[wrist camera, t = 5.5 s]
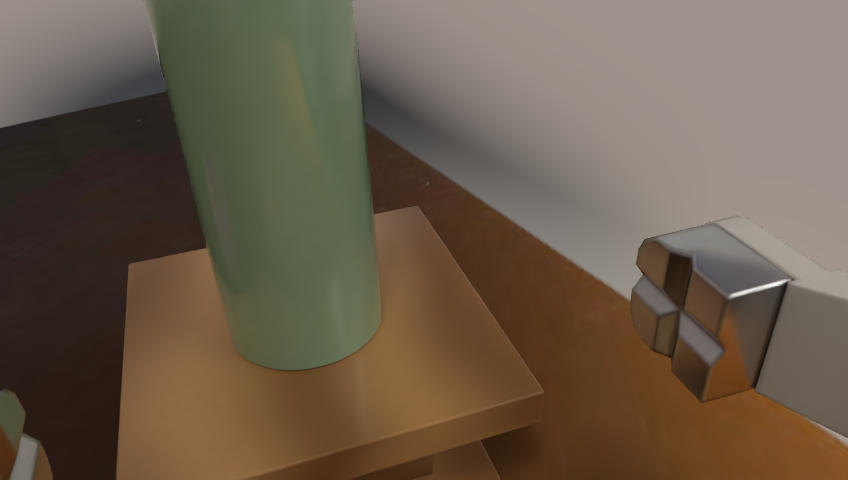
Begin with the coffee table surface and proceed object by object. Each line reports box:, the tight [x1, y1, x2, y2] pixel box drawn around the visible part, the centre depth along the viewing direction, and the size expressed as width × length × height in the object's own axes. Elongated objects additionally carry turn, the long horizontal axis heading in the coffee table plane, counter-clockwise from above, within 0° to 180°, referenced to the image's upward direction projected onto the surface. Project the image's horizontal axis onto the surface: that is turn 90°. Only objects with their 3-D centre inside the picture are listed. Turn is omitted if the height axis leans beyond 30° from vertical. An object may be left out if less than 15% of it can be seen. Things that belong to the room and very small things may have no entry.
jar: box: [144, 0, 383, 371], centre depth 18 cm, size 5×5×13 cm
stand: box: [116, 206, 544, 480], centre depth 23 cm, size 11×11×6 cm
